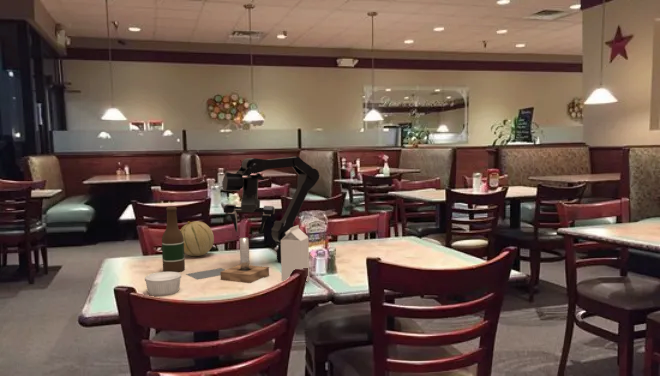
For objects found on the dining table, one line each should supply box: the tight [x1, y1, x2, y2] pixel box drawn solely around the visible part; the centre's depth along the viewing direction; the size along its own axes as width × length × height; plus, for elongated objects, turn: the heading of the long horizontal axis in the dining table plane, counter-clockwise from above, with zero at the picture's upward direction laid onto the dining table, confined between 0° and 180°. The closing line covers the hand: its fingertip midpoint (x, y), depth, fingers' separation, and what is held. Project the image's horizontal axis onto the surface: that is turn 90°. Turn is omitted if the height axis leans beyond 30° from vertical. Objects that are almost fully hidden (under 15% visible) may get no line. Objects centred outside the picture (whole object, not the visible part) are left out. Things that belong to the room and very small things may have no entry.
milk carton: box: [280, 224, 310, 283], centre depth 179 cm, size 7×7×19 cm
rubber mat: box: [185, 267, 226, 280], centre depth 193 cm, size 14×10×1 cm
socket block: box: [220, 263, 270, 284], centre depth 187 cm, size 12×12×3 cm
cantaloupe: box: [179, 220, 215, 257], centre depth 225 cm, size 15×15×15 cm
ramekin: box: [144, 271, 182, 296], centre depth 172 cm, size 11×11×5 cm
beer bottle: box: [161, 206, 186, 273], centre depth 198 cm, size 8×8×24 cm
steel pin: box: [239, 237, 250, 271], centre depth 187 cm, size 3×3×14 cm
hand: (248, 232), depth 205 cm, fingers open, 9 cm apart
